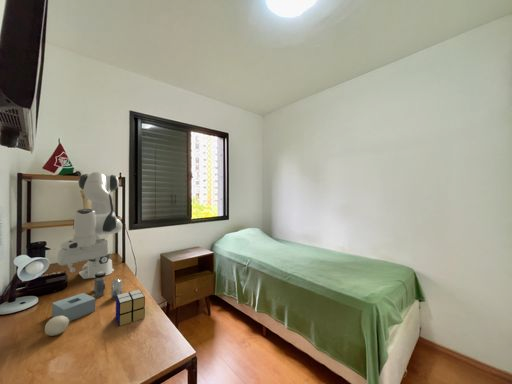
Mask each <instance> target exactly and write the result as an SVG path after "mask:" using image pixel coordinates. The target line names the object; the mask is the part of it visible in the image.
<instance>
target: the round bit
mask: <svg viewBox="0 0 512 384" xmlns="http://www.w3.org/2000/svg"><path fill="white" fill-rule="evenodd" d="M119 294H123V279H122V278H116V279H113V280H111V295H110V296H111V300H116V296H117V295H119Z"/></svg>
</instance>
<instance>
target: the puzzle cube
mask: <svg viewBox="0 0 512 384" xmlns="http://www.w3.org/2000/svg"><path fill="white" fill-rule="evenodd" d="M145 307H146V297H145V295H144V293H143V292H142V290H141V289H139V288H138V289H136V290H132V291H129V292H122V294H119V295H117V296H116V299H115V318H116V322H117V325H118V327H121V326H125V325H128V324H131V323H135V322H137V321H141V320H143V318H144V319H145V318H146V317H145V313H146V312H145V311H146V308H145ZM140 319H141V320H140ZM134 321H135V322H134Z"/></svg>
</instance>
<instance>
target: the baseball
mask: <svg viewBox="0 0 512 384" xmlns="http://www.w3.org/2000/svg"><path fill="white" fill-rule="evenodd" d="M69 324H70V321H69V319H68V318H67V317H65V316H56V317H52V318H50V319H49V320H48V321H47V322H46V324H45V325H44V332H45V334H46V335H47V336H51V337H53V336H58V335H59V334H62V333H63V332H64V331H65V330H66V329H67V327H68V325H69Z"/></svg>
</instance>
